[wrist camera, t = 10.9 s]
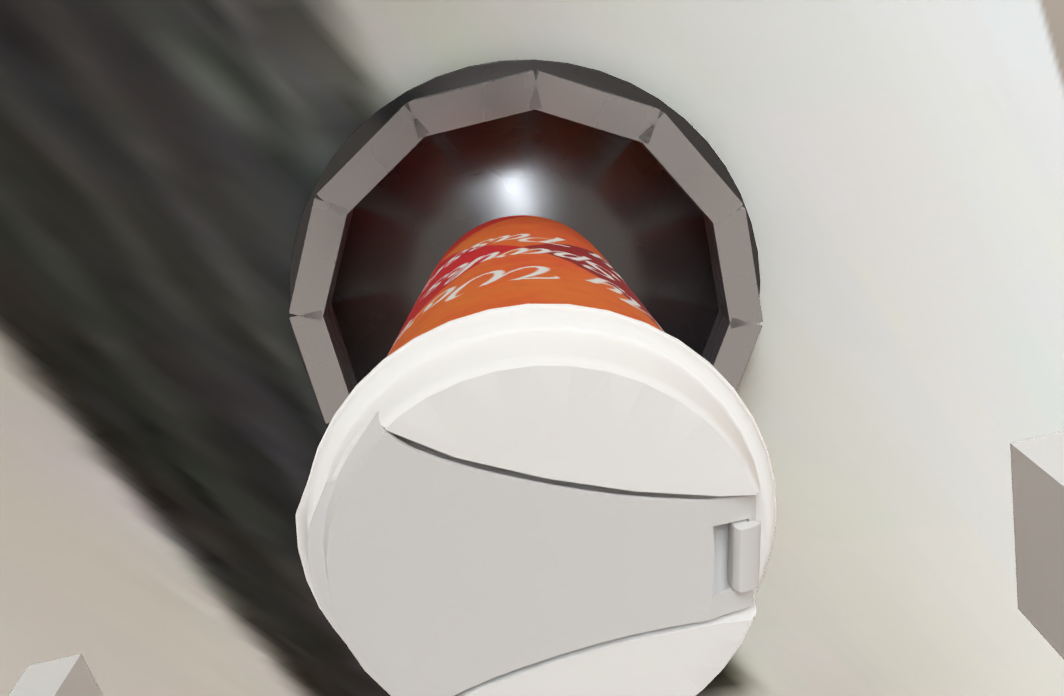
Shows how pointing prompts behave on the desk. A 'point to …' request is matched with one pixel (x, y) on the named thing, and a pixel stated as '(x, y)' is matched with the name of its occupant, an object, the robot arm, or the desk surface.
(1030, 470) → the robot arm
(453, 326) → the coffee cup
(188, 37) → the desk surface
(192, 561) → the desk surface
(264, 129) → the desk surface
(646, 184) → the ring seat
